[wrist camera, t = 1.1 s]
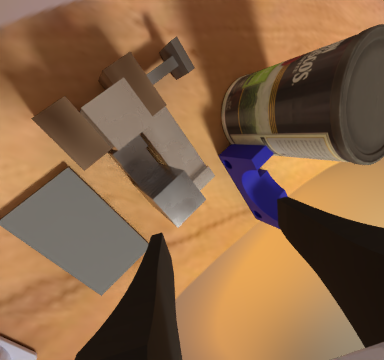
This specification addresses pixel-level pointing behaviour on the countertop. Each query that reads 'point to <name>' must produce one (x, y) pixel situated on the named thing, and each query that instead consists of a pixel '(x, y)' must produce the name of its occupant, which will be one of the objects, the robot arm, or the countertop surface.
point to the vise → (123, 68)
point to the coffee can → (315, 103)
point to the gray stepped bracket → (159, 181)
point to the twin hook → (144, 130)
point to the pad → (77, 231)
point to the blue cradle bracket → (254, 179)
